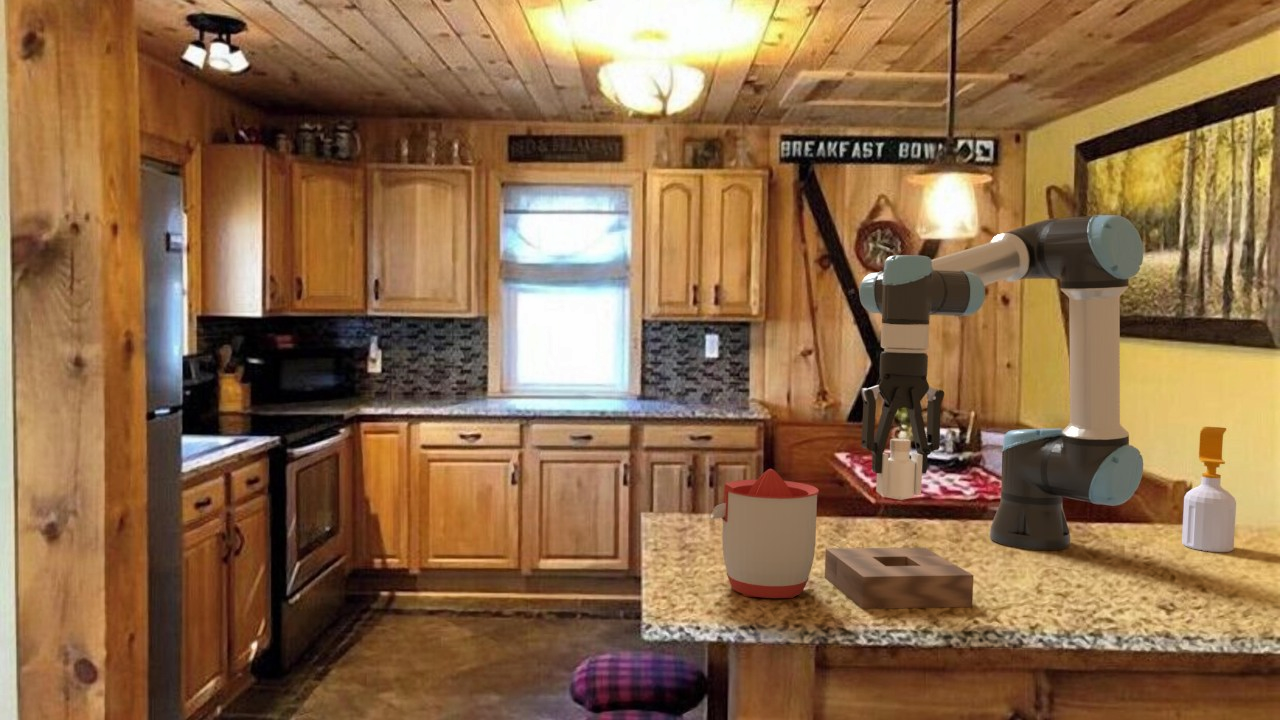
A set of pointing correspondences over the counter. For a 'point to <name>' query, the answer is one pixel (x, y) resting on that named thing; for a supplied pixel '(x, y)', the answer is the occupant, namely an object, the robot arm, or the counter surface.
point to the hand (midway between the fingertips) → (898, 492)
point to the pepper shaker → (900, 470)
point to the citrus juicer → (768, 535)
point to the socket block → (898, 578)
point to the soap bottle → (1209, 501)
